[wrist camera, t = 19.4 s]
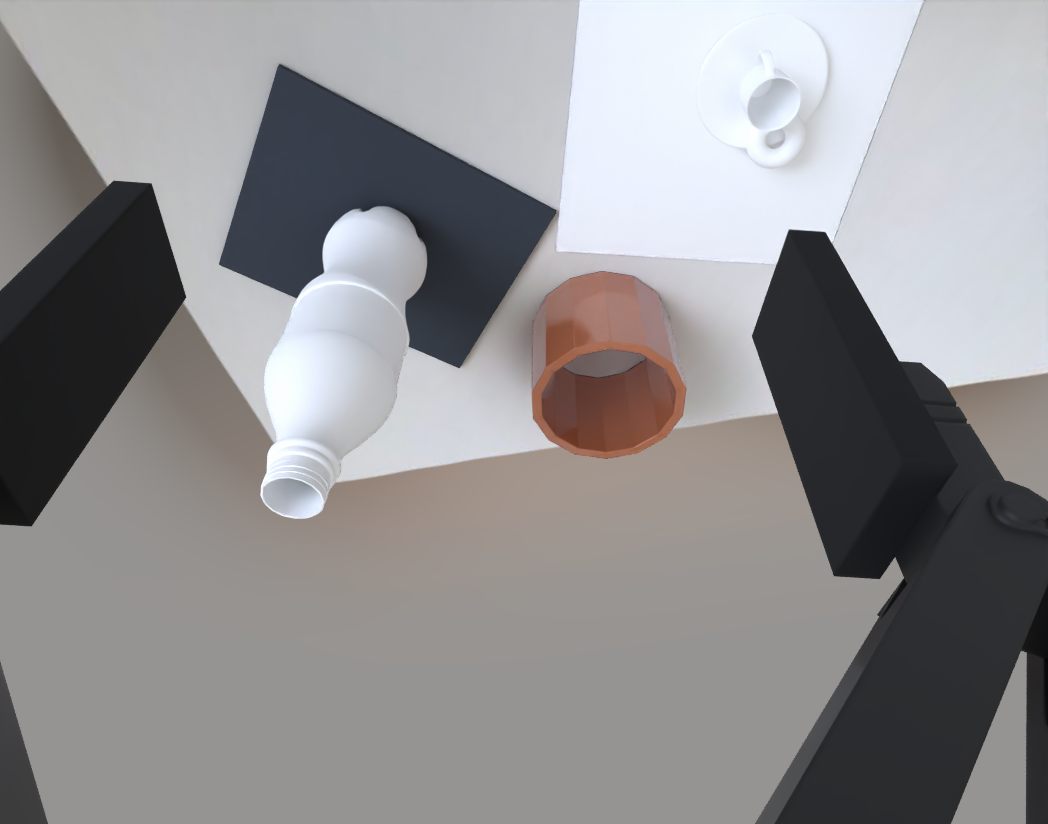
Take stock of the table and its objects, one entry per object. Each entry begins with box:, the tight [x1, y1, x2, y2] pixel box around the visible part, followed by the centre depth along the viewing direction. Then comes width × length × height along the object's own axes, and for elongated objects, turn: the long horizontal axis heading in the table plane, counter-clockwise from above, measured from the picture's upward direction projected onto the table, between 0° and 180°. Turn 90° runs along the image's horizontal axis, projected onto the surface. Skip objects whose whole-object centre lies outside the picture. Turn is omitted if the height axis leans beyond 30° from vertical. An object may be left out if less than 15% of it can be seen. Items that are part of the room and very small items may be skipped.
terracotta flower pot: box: [532, 271, 686, 459], centre depth 54 cm, size 11×11×9 cm
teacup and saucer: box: [695, 13, 829, 170], centre depth 44 cm, size 9×8×4 cm
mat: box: [219, 65, 556, 368], centre depth 52 cm, size 20×16×1 cm
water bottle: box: [261, 206, 427, 519], centre depth 43 cm, size 7×7×25 cm
